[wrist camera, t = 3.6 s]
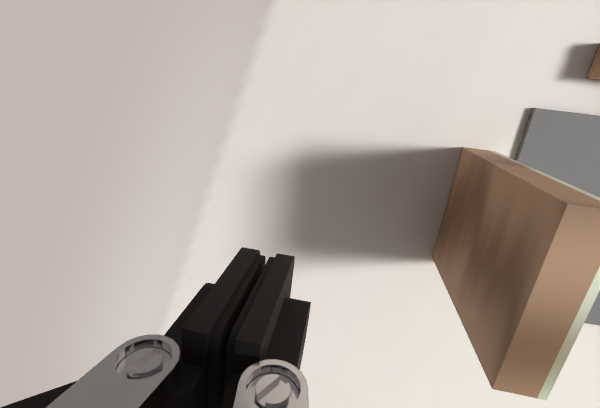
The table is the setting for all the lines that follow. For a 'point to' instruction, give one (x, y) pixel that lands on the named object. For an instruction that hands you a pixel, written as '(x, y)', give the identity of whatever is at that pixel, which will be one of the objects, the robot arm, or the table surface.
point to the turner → (595, 66)
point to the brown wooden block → (519, 267)
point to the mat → (565, 156)
